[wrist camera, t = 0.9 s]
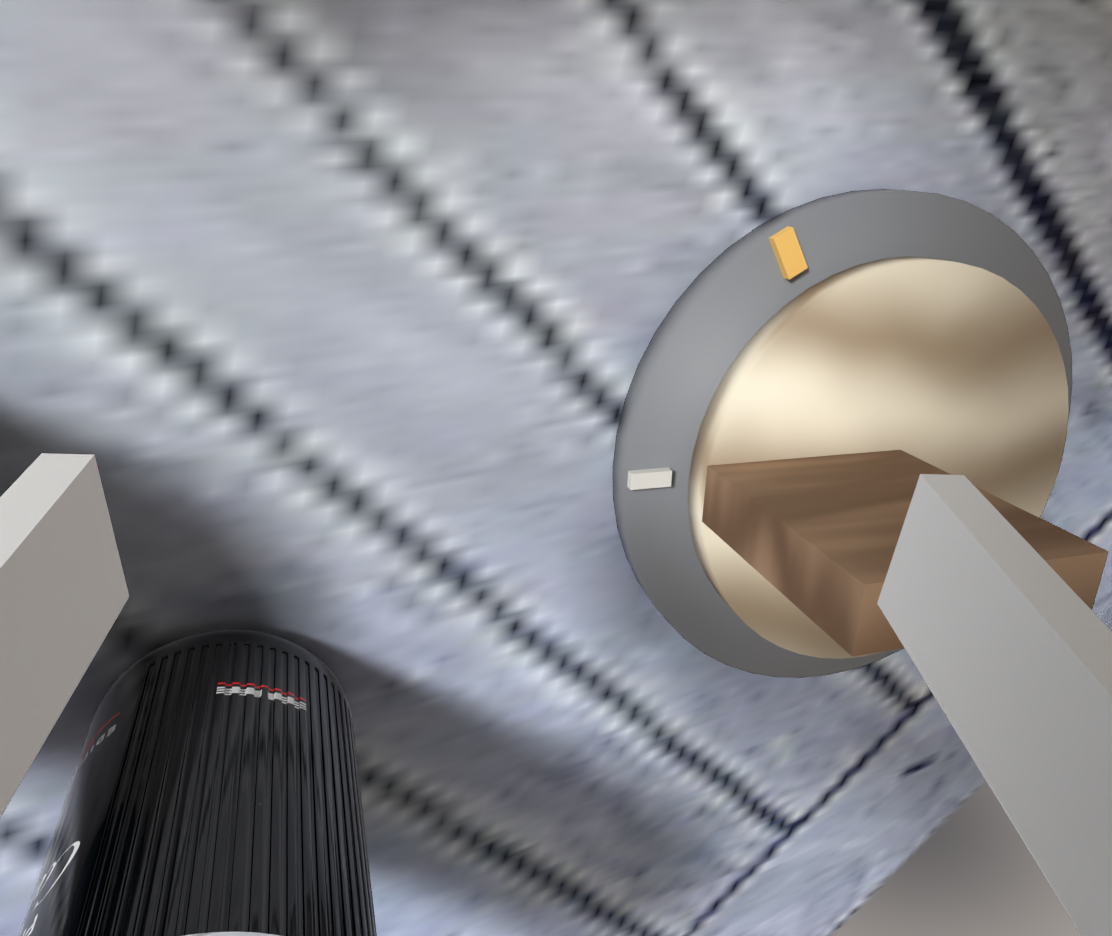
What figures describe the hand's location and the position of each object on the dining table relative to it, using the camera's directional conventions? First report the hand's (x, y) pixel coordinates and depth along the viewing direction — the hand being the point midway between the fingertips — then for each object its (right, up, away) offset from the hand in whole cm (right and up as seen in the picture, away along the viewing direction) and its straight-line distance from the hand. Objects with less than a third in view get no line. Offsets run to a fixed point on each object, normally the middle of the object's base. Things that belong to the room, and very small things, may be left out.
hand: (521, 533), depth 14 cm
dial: (+15, +1, +23) cm, 28 cm away
